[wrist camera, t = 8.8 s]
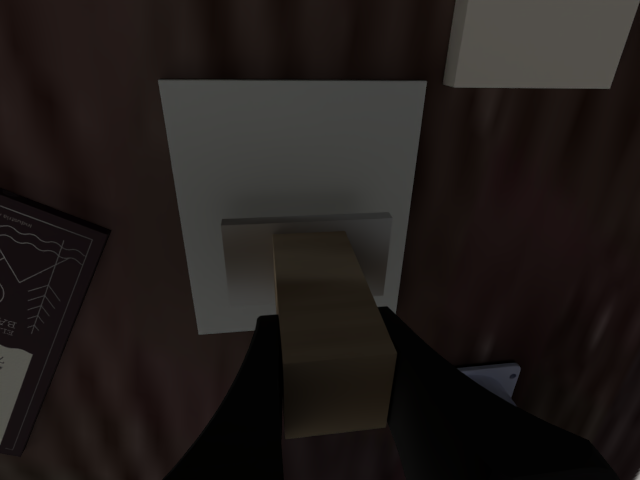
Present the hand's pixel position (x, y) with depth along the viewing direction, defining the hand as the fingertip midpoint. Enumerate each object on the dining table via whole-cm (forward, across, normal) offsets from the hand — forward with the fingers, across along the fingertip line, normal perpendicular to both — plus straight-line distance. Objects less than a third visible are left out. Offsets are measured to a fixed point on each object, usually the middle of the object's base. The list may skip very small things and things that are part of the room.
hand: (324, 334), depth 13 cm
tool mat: (+9, 0, 0) cm, 9 cm away
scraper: (+5, 0, 0) cm, 5 cm away
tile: (+9, -11, -7) cm, 16 cm away
